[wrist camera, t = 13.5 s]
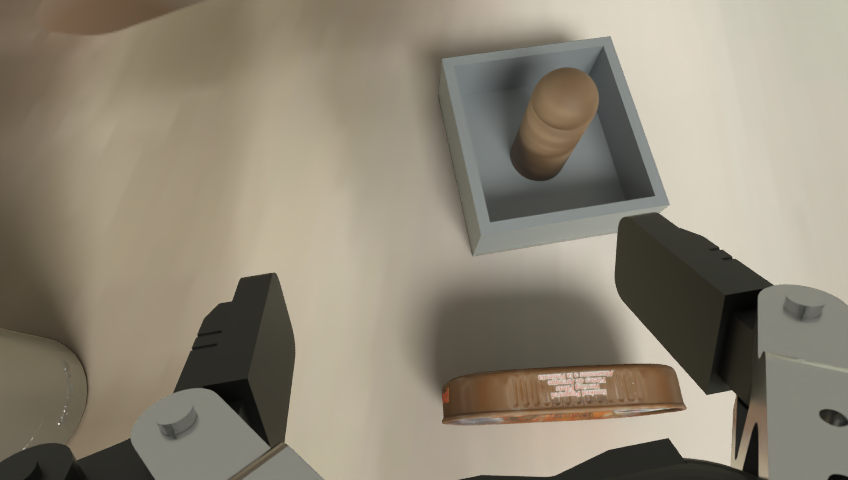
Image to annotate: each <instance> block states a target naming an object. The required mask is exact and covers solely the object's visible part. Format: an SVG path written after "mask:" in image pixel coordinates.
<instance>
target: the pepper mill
mask: <svg viewBox="0 0 848 480" xmlns="http://www.w3.org/2000/svg"><path fill="white" fill-rule="evenodd" d="M598 104H599V94H598V90H597V87H596V85H595V83H594V81H593V80H592V78H591V77H590V76H589V75H587V74H586V73H585V72H583V71H581V70H579V69H576V68H571V67H563V68H558V69H555V70H553V71H551V72H549V73H547V74H546V75H545V76H543V77H542V78H541V79H540V80H539V82H538V83H537V85H536V86H535V88H534V90H533V93H532V95H531V98H530V101H529V103H528V106H527V109H526V111H525V114H524V117H523V119H522V122H521V124H520V127H519V130H518V132H517V135H516V138H515V140H514V143H513V146H512V148H511V153H510V157H511V162H512V164H513V166H514V168H515V170H516V171H517V172H518V173H519V174H520V175H522V176H523V177H525V178H527V179H529V180H533V181H546V180H549V179H552V178H554V177H555V176H556V175H558V174H559V172H560V171H561V170H562V168H563V166H564V165H565V163H566V161H567V160H568V158H569V157H570V155H571V153H572V152H573V150H574V148H575V147H576V145H577V144H578V142H579V140H580V139H581V137H582V135H583V134H584V132H585V131H586V129H587V127H588V126H589V124H590V122H591V121H592V119H593V117H594V116H595V114H596V111H597V108H598Z"/></svg>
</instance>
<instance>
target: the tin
mask: <svg viewBox="0 0 848 480" xmlns="http://www.w3.org/2000/svg"><path fill="white" fill-rule="evenodd" d="M442 399H443V413H444V418H443V420H442V423H443V424H451V425H486V424H510V423H532V422H552V421H573V420H591V419H607V418H622V417H634V416H643V415H651V414H661V413H667V412H676V411H682V410H686V409H687V408H686V406H685V404H684V402H683V399H682V395H681V390H680V386H679V382H678V378H677V375H676V372H675V370H674V369H673V368H672V367H670V366H667V365H661V364H613V365H588V366H567V367H548V368H531V369H515V370H501V371H491V372H482V373H476V374H470V375H465V376H460V377H457V378H454V379H452V380H450V381H449V382H448V383H447V384H446V385H445V386H444V387H443V389H442Z"/></svg>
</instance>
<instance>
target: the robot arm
mask: <svg viewBox="0 0 848 480" xmlns="http://www.w3.org/2000/svg"><path fill="white" fill-rule="evenodd" d="M615 284H616V288H617V291H618V294H619V296H620V298H621V299H622V300H623V302H624V303H625V304H626V305H627V306H628V307H629V308H630V310H631V311H632V312H633V313H634V314H635V315H636V316H637V317H638V319H639V320H640V321H641V322H642V323H643V324H644V325H645V326H646V327H647V329H648V330H649V331H650V332H651V333H652V334H653V335H654V336H655V338H656V339H657V340H658V341H659V342H660V343H661V344H662V345H663V347H664V348H665V349H666V350H667V351H668V352H669V353H670V354H671V355H672V357H673V358H674V359H675V360H676V361H677V362H678V363H679V364H680V366H681V367H682V368H683V369H684V370H685V371H686V372H687V373H688V374H689V376H690V377H691V378H692V379H693V380H694V381H695V382H696V383H697V385H698V386H699V387H700V388H701V389H702V390H703V391H704V392H705V394H706V395H709V394H714V393H719V392H724V391H730V390H733V391H734V392H735V393H736V399H735V404H734V409H733V428H732V449H731V467H730V466H726V465H723V464H719V463H714V462H710V461H705V460H698V459H690V458H682V456H681V455H680V454H679V452H678V451H677V449H676V448H675V447H674V445H673V444H672V443H671V441H670V440H669V438H667V439H662V440H657V441H652V442H647V443H642V444H637V445H632V446H627V447H622V448H617V449H611V450H608V451H606V452H604V453H602V454H600V455H597V456H595V457H593V458H591V459H589V460H587V461H585V462H583V463H581V464H579V465H577V466H575V467H573V468H571V469H569V470H566V471H564V472H562V473H560V474H558V475H555V476H552V477H524V476H491V475H480V476H475V477H470V478H465V479H460V480H848V305H847V304H845V303H844V302H843V301H842V300H840V299H839V298H837V297H835V296H833V295H831V294H829V293H826V292H824V291H821V290H818V289H814V288H810V287H806V286H800V285H775V286H774V285H773V284H771V283H770V282H768V281H767V280H765V279H764V278H763V277H761V276H760V275H758V274H757V273H755V272H754V271H752V270H751V269H750V268H748V267H747V266H745V265H744V264H742V263H741V262H739V261H738V260H737V259H732V256H731V255H729V254H728V253H726V252H725V251H723V250H719V247H718V246H716V245H715V244H713V243H712V242H710V241H709V240H708V239H706V238H705V237H703V236H701V235H698V234H695V233H692V232H690V231H687V230H684V229H682V228H678V227H677V226H676V225H674V224H673V223H671V222H670V221H669V220H667V219H666V218H664V217H663V216H662V215H660V214H659V213H657V212H651V213H645V214H638V215H632V216H626V217H623V218H622V219H621V220H620V222H619V225H618V234H617V249H616V263H615ZM197 335H198V338H196V339H195V342H194V344H193V346H192V351H190V354H189V356H188V359H187V361H186V363H185V366H184V368H183V371H182V373H181V375H180V378H179V380H178V383H177V385H176V388H175V390H174V392H173V394H171V395H168V396H167V397H165V398H163V399H161V400H159V401H158V402H156V403H154V404H153V405H152V406H151V407H149V408H148V409H147V410H146V411H145V412H144V413H143V414H142V415H141V416H140V417H139V418H138V420H137V421H136V423H135V424H134V426H133V428H132V431H131V438H129V439H128V440H126V441H123V442H121V443H119V444H116V445H114V446H112V447H109V448H107V449H104V450H102V451H99V452H97V453H94V454H92V455H89V456H87V457H84V458H82V459H79V460H76V458H75V457H74V455H73V453H72V452H71V450H70V448H68V447H67V446H66V445H65V444H66V443H67V441H68V440H69V439H70V438H71V436H72V435H73V433H74V432H75V430H76V428H77V426H78V424H79V423H80V421H81V418H82V415H83V412H84V409H85V405H86V397H87V383H86V376H85V373H84V370H83V367H82V365H81V363H80V361H79V360H78V358H77V357H76V355H75V354H74V353H73V352H72V351H71V350H70V349H69V348H68V347H66V346H65V345H63V344H61V343H59V342H57V341H55V340H52V339H48V338H44V337H40V336H35V335H30V334H26V333H21V332H16V331H12V330H8V329H4V328H0V480H324V479H323V478H322V477H321V476H320V475H319V474H318V473H317V472H316V471H315V470H314V469H313V468H312V467H311V466H310V465H309V464H307V463H306V462H305V461H304V460H303V459H302V458H301V457H300V456H299V455H298V454H297V453H296V452H295V451H294V450H293V449H292V448H291V447H289V446H288V445H287V444H285V443H284V441H285V433H286V425H287V418H288V410H289V402H290V394H291V386H292V378H293V370H294V362H295V341H294V334H293V329H292V326H291V322H290V318H289V315H288V311H287V307H286V304H285V300H284V296H283V292H282V289H281V285H280V282H279V279H278V276H277V275H276V273H268V274H262V275H256V276H250V277H244V278H241V279H240V280H239V283H238V286H237V289H236V292H235V295H234V298H233V300H232V302H226V303H220V304H218V305H217V306H216V307H215V308H214V309H213V310H212V311H211V312H210V313H209V314H208V315H207V316H206V317H205V318H204V320H203V322H202V325H201V327H200V330H199V332H198V334H197Z"/></svg>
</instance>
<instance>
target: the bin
mask: <svg viewBox="0 0 848 480" xmlns="http://www.w3.org/2000/svg"><path fill="white" fill-rule="evenodd" d="M563 67H571V68H576V69H579V70H581V71H583V72H585V73H586V74H587V75H589V76H590V77H591V78H592V80H593V81H594V83H595V85H596V87H597V90H598V94H599V104H598V108H597V111H596V114H595V116H594V117H593V119H592V121H591V122H590V124H589V126H588V127H587V129H586V131H585V132H584V134H583V135H582V137H581V139H580V140H579V142H578V144H577V145H576V147H575V148H574V150H573V152H572V153H571V155H570V157H569V158H568V160H567V161H566V163H565V165H564V166H563V168H562V170H561V171H560V172H559V174H558V175H556V176H555V177H554V178H552V179H549V180H546V181H533V180H529V179H527V178H525V177H523V176H522V175H520V174H519V173H518V172H517V171H516V170H515V168H514V166H513V164H512V162H511V157H510V153H511V148H512V146H513V143H514V140H515V138H516V135H517V132H518V130H519V127H520V124H521V122H522V119H523V117H524V114H525V111H526V109H527V106H528V103H529V101H530V98H531V95H532V93H533V90H534V88H535V86H536V85H537V83H538V82H539V80H540V79H541V78H542V77H543V76H545V75H546V74H547V73H549V72H551V71H553V70H555V69H558V68H563ZM438 97H439V102H440V106H441V111H442V115H443V120H444V125H445V129H446V134H447V139H448V143H449V148H450V152H451V157H452V162H453V166H454V171H455V176H456V180H457V185H458V190H459V194H460V199H461V203H462V208H463V213H464V217H465V222H466V227H467V231H468V236H469V240H470V245H471V250H472V254H473V256H477V255H483V254H490V253H496V252H502V251H508V250H514V249H520V248H526V247H532V246H538V245H544V244H551V243H557V242H563V241H569V240H575V239H581V238H587V237H593V236H599V235H605V234H612V233H618V225H619V222H620V220H621V219H622V218H623V217H626V216H632V215H638V214H645V213H651V212H657V213H660V212H661V211H663V210H664V209H665V208H666V207H667V206H669V205H670V204H669V201H668V198H667V196H666V193H665V190H664V187H663V184H662V181H661V179H660V176H659V173H658V170H657V167H656V164H655V162H654V159H653V156H652V153H651V150H650V147H649V145H648V142H647V139H646V136H645V133H644V130H643V128H642V125H641V122H640V119H639V116H638V113H637V110H636V108H635V105H634V102H633V99H632V96H631V93H630V91H629V88H628V85H627V82H626V79H625V76H624V74H623V71H622V68H621V65H620V62H619V59H618V57H617V54H616V51H615V48H614V45H613V42H612V40H611V37H610V36H609V37H601V38H594V39H586V40H578V41H571V42H563V43H556V44H548V45H541V46H533V47H526V48H518V49H510V50H503V51H495V52H488V53H480V54H473V55H465V56H458V57H450V58H443V59H442V61H441V72H440V84H439V95H438Z"/></svg>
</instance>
